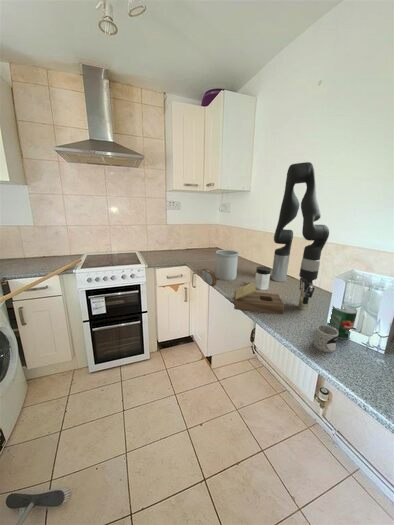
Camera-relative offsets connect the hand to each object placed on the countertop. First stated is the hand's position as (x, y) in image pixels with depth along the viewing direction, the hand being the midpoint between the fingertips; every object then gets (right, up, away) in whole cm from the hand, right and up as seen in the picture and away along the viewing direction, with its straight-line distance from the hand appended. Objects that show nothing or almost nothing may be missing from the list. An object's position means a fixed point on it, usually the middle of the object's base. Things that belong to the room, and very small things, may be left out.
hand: (303, 301), depth 105 cm
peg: (0, -3, +1) cm, 3 cm away
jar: (-13, +4, +25) cm, 29 cm away
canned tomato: (+4, -9, -19) cm, 22 cm away
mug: (-5, -11, -27) cm, 29 cm away
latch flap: (-28, +5, +2) cm, 28 cm away
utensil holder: (-32, +9, +41) cm, 53 cm away
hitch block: (-22, -2, +2) cm, 22 cm away
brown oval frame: (-45, +6, +29) cm, 54 cm away
